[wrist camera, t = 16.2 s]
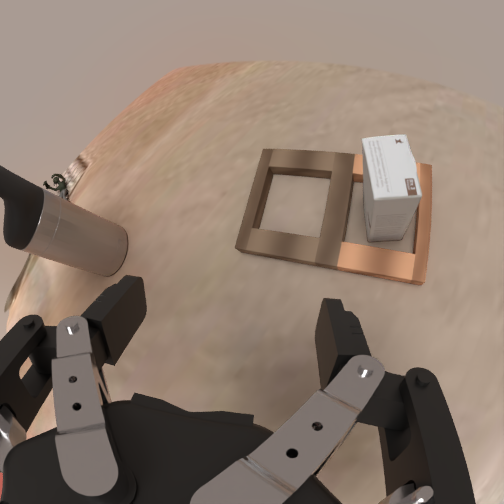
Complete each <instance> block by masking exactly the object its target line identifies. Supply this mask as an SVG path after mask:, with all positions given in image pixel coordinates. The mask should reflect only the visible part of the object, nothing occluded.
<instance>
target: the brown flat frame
mask: <svg viewBox="0 0 504 504" xmlns="http://www.w3.org/2000/svg"><path fill="white" fill-rule="evenodd" d="M415 163H416V167H417V175H418V179H419V183H420V187H421V192H422V198H421V200H420V202H419V204H418V207H417V216H416V229H415V240H414V249H413V254H411V253H406V252H400V251H394V250H389V249H383V248H377V247H371V246H365V245H359V244H353V243H347V242H344V239H345V234H346V228H347V222H348V216H349V210H350V203H351V197H352V190H353V182H354V181H356V182H363V155H358V154H348V153H337V152H324V151H309V150H289V149H263V151H262V154H261V158H260V161H259V165H258V168H257V171H256V175H255V178H254V182H253V185H252V189H251V192H250V196H249V199H248V203H247V206H246V210H245V213H244V217H243V220H242V224H241V227H240V231H239V235H238V238H237V242H236V245H235V248H236V249H237V250H239V251H240V252H243V253H248V254H254V255H259V256H265V257H270V258H275V259H281V260H286V261H292V262H297V263H302V264H308V265H313V266H319V267H324V268H330V269H335V270H340V271H346V272H351V273H357V274H362V275H368V276H373V277H379V278H384V279H390V280H395V281H401V282H406V283H412V284H417V285H422V284H423V283H425V278H426V270H427V262H428V253H429V242H430V229H431V210H432V165H428V164H422V163H417V162H415ZM273 174H283V175H296V176H308V177H319V178H329V179H331V181H330V187H329V192H328V198H327V203H326V209H325V214H324V219H323V224H322V229H321V234H320V238H316V237H310V236H303V235H297V234H290V233H283V232H277V231H270V230H263V229H259V227H260V223H261V219H262V215H263V212H264V208H265V204H266V200H267V197H268V193H269V189H270V185H271V181H272V178H273Z"/></svg>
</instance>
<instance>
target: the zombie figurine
mask: <svg viewBox="0 0 504 504" xmlns="http://www.w3.org/2000/svg"><path fill="white" fill-rule="evenodd" d="M54 176H58V178H57V177H55V178H54V179H53V182H54V184H56V185H57V183H58V184H59V186H58V187H57V188H56V189H55V188H52V187H50V185H48V184H47V181H45V182H44V184H43V185H45V186H46V189H52V190H54V191H57V190H60V192H61V193H60V195H59V197H61V198H63V199H65V200H67V198H66V197H65V196H66V195H67V193H68V191H67V189H66V185H65V180H66V179H65V178H64V177H63V176H62V175H61V174H54V175H52V178H53V177H54ZM59 178H62V179H63V181H62V182H60V181H59ZM54 186H55V185H54ZM67 201H68V200H67Z"/></svg>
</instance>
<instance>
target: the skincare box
mask: <svg viewBox="0 0 504 504" xmlns="http://www.w3.org/2000/svg"><path fill="white" fill-rule="evenodd" d="M362 148H363V150H362V152H363V202H364V215H365V223H366V231H367V238H368V242H375V241H390V240H401V239H402V238H403V236H404V234H405V232H406V230H407V228H408V226H409V224H410V221H411V219H412V217H413V215H414V213H415V211H416V209H417V207H418V204H419V202H420V200H421V198H422V192H421V187H420V183H419V179H418V175H417V167H416V163H415V159H414V157H413V155H412V152H411V148H410V145H409V142H408V139H407V136H406V135H405V134H403V135H388V136H377V137H369V138H363V139H362Z"/></svg>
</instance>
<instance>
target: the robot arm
mask: <svg viewBox="0 0 504 504" xmlns="http://www.w3.org/2000/svg"><path fill="white" fill-rule="evenodd" d="M0 197H1V198H2V199H3V200H4V205H5V215H4V228H3V230H4V231H3V233H4V239H5V242H6V243H7V244H8V245H9V246H11V247H13V248H16V249H19V250H23V251H25V252H28V253H31V254H34V255H37V256H40V257H43V258H46V259H50V260H53V261H56V262H59V263H62V264H66V265H69V266H72V267H75V268H79V269H82V270H85V271H89V272H92V273H95V274H99V275H103V276H110V275H112V274H114V273H115V272H116V271H117V270H118V269H119V268H120V266H121V265H122V263H123V261H124V258H125V256H126V252H127V245H128V241H127V235H126V232H125V230H124V229H123V228H122V227H121V226H119V225H116V224H114V223H112V222H110V221H108V220H106V219H104V218H102V217H100V216H98V215H96V214H94V213H92V212H89V211H87V210H85V209H83V208H81V207H79V206H77V205H75V204H73V203H71V202H69V201H67V200H65V199H63V198H61V197H59V196H57V195H54V194H53V193H51V192H48V191H47V190H44V189H42V188H40V187H39V186H36V185H35V184H33V183H30V182H29V181H27V180H25V179H23V178H21V177H20V176H18V175H16V174H14V173H12V172H10V171H9V170H7V169H5V168H4V167H2V166H0ZM146 311H147V305H146V298H145V291H144V283H143V279H142V278H141V277H136V276H130V275H125V276H124V277H123V278H122V279H121V280H120V281H119V282H118V284H114V285H112V286H110V287H108V288H107V289H105V290H104V292H103V293H102V294H101V295H100V296H99V297H98V298H97V299H96V301H94V302H93V303H92V304H91V305H90V306H89V307H88V308H87V309H86V311H85V312H84V313H83V314H82V315H81V316H71V317H67V318H65V319H63V320H62V321H61V322H60V323H59V324H58V325H57V326H45V325H44V323H43V320H42V318H41V317H40V316H38V315H28V316H25V317H23V318H22V319H20V320H19V321H18V322H17V323H16V324H15V325H14V327H13V328H12V329H11V330H10V331H9V332H8V333H7V334H6V335H5V336H4V337H3V338H2V340H1V341H0V472H2V473H3V488H2V495H1V500H0V504H342V503H341V502H340V501H339V500H338V499H337V498H336V497H335V496H334V495H333V494H332V493H331V492H330V491H329V490H328V489H327V488H326V487H325V486H324V485H323V484H322V483H321V482H320V481H319V480H318V478H317V477H316V476H317V475H318V474H319V472H320V471H321V470H322V469H323V468H324V466H325V465H326V464H327V463H328V461H329V460H330V459H331V457H332V456H333V455H334V454H335V452H336V451H337V450H338V448H339V447H340V446H341V444H342V443H343V442H344V440H345V439H346V438H347V436H348V435H349V434H350V432H351V431H352V429H353V428H354V427H355V425H356V424H357V422H360V423H365V424H369V425H374V426H378V430H379V436H380V443H381V450H382V458H383V466H384V475H385V485H386V496H387V497H386V498H384V499H383V500H382V501H380V502H379V503H378V504H476V503H475V498H474V493H473V489H472V484H471V480H470V476H469V472H468V468H467V464H466V461H465V457H464V454H463V450H462V447H461V443H460V440H459V437H458V434H457V431H456V428H455V425H454V422H453V419H452V416H451V413H450V411H449V408H448V405H447V403H446V400H445V397H444V395H443V392H442V390H441V387H440V385H439V382H438V380H437V378H436V376H435V375H434V374H433V373H432V372H430V371H429V370H427V369H424V368H418V367H417V368H412V369H410V370H409V371H408V372H407V373H406V375H405V376H401V375H397V374H392V373H389V372H386V371H385V369H384V366H383V365H382V363H381V362H380V361H379V360H377V359H376V358H374V357H372V356H371V353H370V351H369V348H368V345H367V342H366V339H365V336H364V335H363V330H362V328H361V325H360V322H359V319H358V318H357V317H356V316H355V315H354V314H353V313H352V312H351V311H345V310H344V307H343V304H342V301H341V300H340V299H329V298H324V299H323V301H322V304H321V309H320V313H319V317H318V321H317V325H316V331H315V344H316V351H317V359H318V367H319V375H320V384H321V389H319V390H317V391H316V392H315V393H314V394H313V395H312V396H311V397H310V398H309V399H308V401H307V402H306V403H305V404H304V405H303V406H302V407H301V408H300V409H299V410H298V411H297V412H296V413H295V414H294V415H293V416H292V417H291V418H290V419H289V420H287V421H286V422H285V423H284V424H283V425H282V426H281V427H280V428H279V429H278V430H277V431H276V432H275V433H273V432H272V431H270V430H268V429H266V428H264V427H262V426H260V425H257V424H254V423H253V418H254V415H250V414H241V413H233V412H226V411H214V412H188V411H185V410H183V409H181V408H179V407H176V406H174V405H172V404H170V403H168V402H166V401H164V400H161V399H157V398H153V397H149V396H145V395H142V394H138V393H134V395H133V397H132V399H131V400H122V401H115V402H112V401H111V398H110V394H109V390H108V387H107V383H106V379H105V375H104V371H103V368H102V366H103V365H104V363H107V364H110V365H114V366H115V364H116V362H117V361H118V359H119V358H120V356H121V354H122V353H123V351H124V350H125V348H126V346H127V345H128V343H129V342H130V340H131V339H132V337H133V335H134V334H135V332H136V331H137V329H138V328H139V326H140V325H141V323H142V322H143V320H144V318H145V316H146ZM28 357H29V358H30V360H31V362H32V366H31V367H30V368H29V370H28V371H27V373H26V374H25V375H24V377H23V378H22V379H20V376H19V370H20V367H21V366H22V364H23V363H24V362H25V360H26V359H27V358H28ZM52 388H53V396H54V407H55V415H56V423H57V427H56V428H53V429H51V430H49V431H47V432H44V433H42V434H40V435H37V436H35V437H32V438H30V439H28V440H26V432H27V431H28V429H29V427H30V425H31V423H32V422H33V420H34V418H35V416H36V415H37V413H38V411H39V409H40V408H41V406H42V404H43V403H44V401H45V399H46V398H47V396H48V395H49V393H50V391H51V390H52Z"/></svg>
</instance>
